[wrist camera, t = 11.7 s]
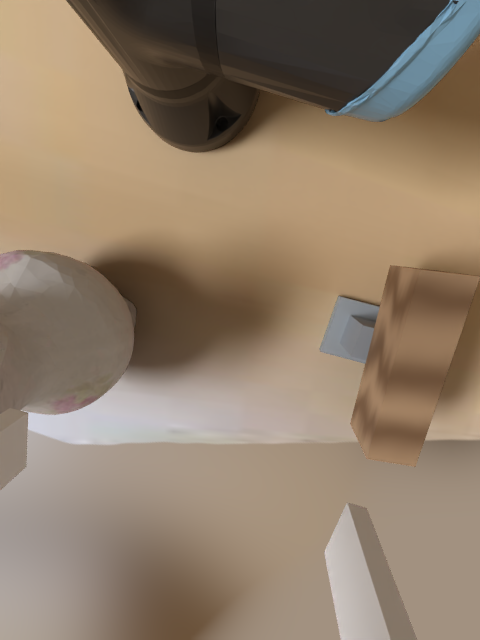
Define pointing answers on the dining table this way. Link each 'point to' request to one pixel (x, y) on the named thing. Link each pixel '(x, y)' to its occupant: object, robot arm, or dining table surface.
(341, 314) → the fulcrum
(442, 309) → the walnut bar
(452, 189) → the dining table surface
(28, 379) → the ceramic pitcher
